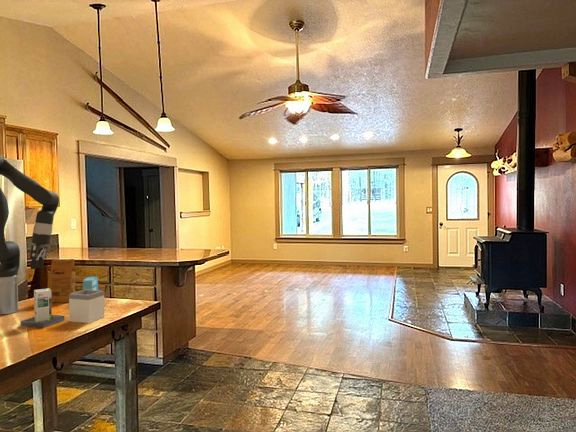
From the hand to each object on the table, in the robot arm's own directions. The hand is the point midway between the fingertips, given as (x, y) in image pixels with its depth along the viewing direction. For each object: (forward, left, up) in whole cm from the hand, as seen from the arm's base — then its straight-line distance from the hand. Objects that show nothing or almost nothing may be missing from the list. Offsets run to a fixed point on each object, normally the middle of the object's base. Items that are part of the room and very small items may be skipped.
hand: (36, 268), depth 194 cm
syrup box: (+13, -10, -22) cm, 27 cm away
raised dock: (+27, 0, -22) cm, 34 cm away
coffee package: (-9, +26, -22) cm, 35 cm away
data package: (+5, +30, -22) cm, 38 cm away
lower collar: (+13, -10, -22) cm, 27 cm away
